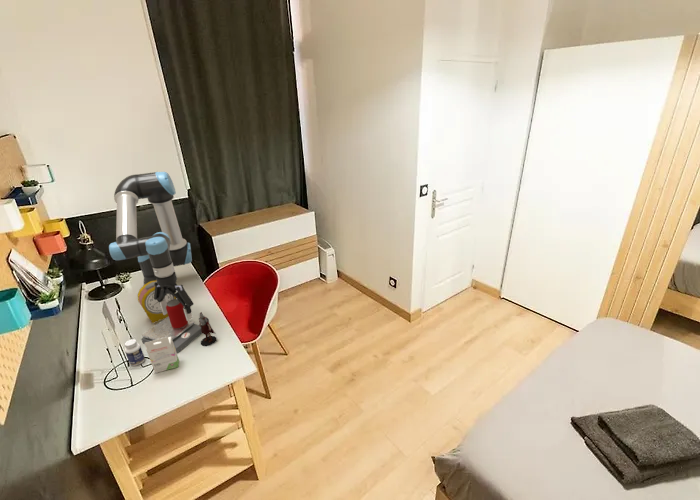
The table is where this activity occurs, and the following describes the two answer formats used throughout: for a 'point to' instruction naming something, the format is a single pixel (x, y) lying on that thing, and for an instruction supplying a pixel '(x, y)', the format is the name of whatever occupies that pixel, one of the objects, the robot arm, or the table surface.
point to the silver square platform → (165, 330)
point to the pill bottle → (134, 352)
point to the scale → (182, 337)
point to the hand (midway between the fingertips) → (177, 316)
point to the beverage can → (176, 314)
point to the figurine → (206, 331)
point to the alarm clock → (152, 302)
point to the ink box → (162, 354)
